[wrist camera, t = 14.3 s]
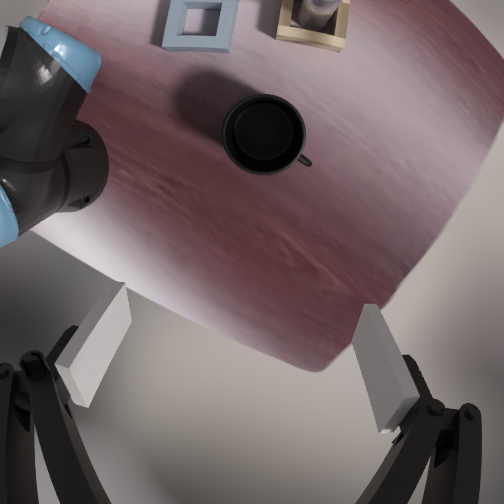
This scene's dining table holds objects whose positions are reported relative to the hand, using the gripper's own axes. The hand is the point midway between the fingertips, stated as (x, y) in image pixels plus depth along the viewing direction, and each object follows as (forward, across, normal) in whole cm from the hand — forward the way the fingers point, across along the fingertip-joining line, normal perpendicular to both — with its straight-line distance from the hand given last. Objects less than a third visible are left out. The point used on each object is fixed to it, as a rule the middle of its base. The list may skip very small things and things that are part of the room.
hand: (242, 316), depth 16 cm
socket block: (+30, -9, +24) cm, 40 cm away
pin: (+30, +6, +26) cm, 40 cm away
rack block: (+30, +6, +26) cm, 40 cm away
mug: (+30, +2, +7) cm, 31 cm away
